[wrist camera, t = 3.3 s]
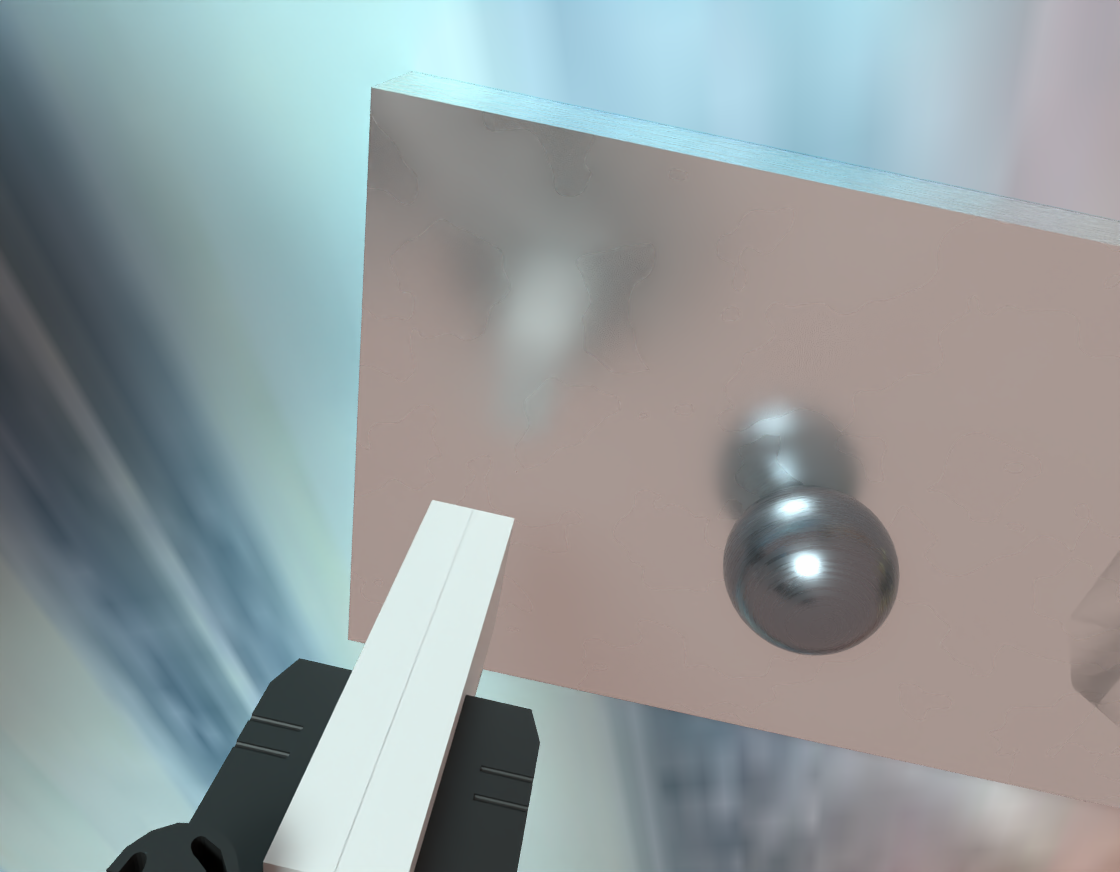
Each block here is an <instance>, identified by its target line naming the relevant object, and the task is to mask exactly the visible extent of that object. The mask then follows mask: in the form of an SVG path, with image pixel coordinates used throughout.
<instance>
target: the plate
mask: <svg viewBox="0 0 1120 872" xmlns="http://www.w3.org/2000/svg"><path fill="white" fill-rule="evenodd" d="M796 485H816V486H823V487H828V488H832V489H835V490H838V491H840V492H843V493H845V494H847V495H850V496H851V497H853V498H855V499H857V500H858V501H860V502H861V503H862V504H864V505H865V506H866V507H867V508H869V509H870V510H871V511H872V512H873V513H874V514H875V515H876V516H877V517H878V519H879V520H880V521H881V522H882V524H883V525H884V527H885V528H886V529H887V531H888V533H889V535H890V537H891V539H892V541H893V543H894V546H895V550H896V553H897V557H898V562H899V574H900V578H899V587H898V593H897V597H896V600H895V603H894V605H893V607H892V610H891V612H890V614H889V615H888V617H887V618H886V620H885V621H884V623H883V624H882V625H881V627H880V628H879V629H878V630H877V631H876V632H875V633H874V634H873V635H871V636H870V637H869V638H868V639H866V640H865V641H863V642H862V643H860V644H859V645H857V646H855V647H853V648H851V649H848V650H846V651H842V652H839V653H834V654H829V655H802V654H797V653H793V652H789V651H786V650H783V649H781V648H778V647H776V646H774V645H772V644H770V643H768V642H767V641H765V640H764V639H762V638H761V637H759V636H758V635H757V634H756V633H754V632H753V631H752V630H751V629H750V628H749V627H748V626H747V625H746V624H745V622H744V621H743V620H742V619H741V618H740V616H739V615H738V613H737V611H736V610H735V608H734V607H733V605H732V603H731V600H730V598H729V595H728V593H727V590H726V586H725V581H724V576H723V556H724V550H725V545H726V542H727V539H728V536H729V534H730V532H731V530H732V528H733V526H734V524H735V523H736V521H737V520H738V518H739V517H740V516H741V515H742V513H743V512H744V511H745V510H746V509H747V508H748V507H749V506H750V505H751V504H753V503H754V502H755V501H757V500H758V499H760V498H761V497H763V496H765V495H767V494H769V493H771V492H773V491H776V490H778V489H782V488H785V487H790V486H796ZM432 500H435V501H440V502H444V503H449V504H453V505H458V506H462V507H466V508H471V509H475V510H480V511H484V512H489V513H493V514H498V515H502V516H507V517H511V518H515V519H514V525H513V530H512V535H511V541H510V546H509V551H508V557H507V562H506V568H505V573H504V578H503V584H502V589H501V594H500V600H499V605H498V611H497V616H496V621H495V627H494V630H493V634H492V637H491V641H490V645H489V648H488V652H487V655H486V659H485V662H484V666H483V669H485V670H489V671H494V672H498V673H503V674H507V675H512V676H517V677H521V678H526V679H530V680H535V681H539V682H544V683H549V684H553V685H558V686H562V687H567V688H571V689H576V690H581V691H585V692H590V693H594V694H599V695H603V696H608V697H613V698H617V699H622V700H626V701H631V702H635V703H640V704H645V705H649V706H654V707H658V708H663V709H667V710H672V711H677V712H681V713H686V714H690V715H695V716H699V717H704V718H709V719H713V720H718V721H722V722H727V723H731V724H736V725H741V726H745V727H750V728H754V729H759V730H763V731H768V732H773V733H777V734H782V735H786V736H791V737H795V738H800V739H805V740H809V741H814V742H818V743H823V744H827V745H832V746H837V747H841V748H846V749H850V750H855V751H859V752H864V753H869V754H873V755H878V756H882V757H887V758H891V759H896V760H901V761H905V762H910V763H914V764H919V765H923V766H928V767H933V768H937V769H942V770H946V771H951V772H955V773H960V774H965V775H969V776H974V777H978V778H983V779H987V780H992V781H997V782H1001V783H1006V784H1010V785H1015V786H1019V787H1024V788H1029V789H1033V790H1038V791H1042V792H1047V793H1051V794H1056V795H1061V796H1065V797H1070V798H1074V799H1079V800H1083V801H1088V802H1093V803H1097V804H1102V805H1106V806H1111V807H1115V808H1120V221H1115V220H1110V219H1106V218H1101V217H1096V216H1091V215H1087V214H1082V213H1077V212H1073V211H1068V210H1063V209H1058V208H1054V207H1049V206H1044V205H1040V204H1035V203H1030V202H1025V201H1021V200H1016V199H1011V198H1007V197H1002V196H997V195H992V194H988V193H983V192H978V191H974V190H969V189H964V188H959V187H955V186H950V185H945V184H941V183H936V182H931V181H926V180H922V179H917V178H912V177H908V176H903V175H898V174H893V173H889V172H884V171H879V170H875V169H870V168H865V167H860V166H856V165H851V164H846V163H842V162H837V161H832V160H827V159H823V158H818V157H813V156H809V155H804V154H799V153H794V152H790V151H785V150H780V149H776V148H771V147H766V146H762V145H757V144H752V143H747V142H743V141H738V140H733V139H729V138H724V137H719V136H714V135H710V134H705V133H700V132H696V131H691V130H686V129H681V128H677V127H672V126H667V125H663V124H658V123H653V122H648V121H644V120H639V119H634V118H630V117H625V116H620V115H615V114H611V113H606V112H601V111H597V110H592V109H587V108H582V107H578V106H573V105H568V104H564V103H559V102H554V101H549V100H545V99H540V98H535V97H531V96H526V95H521V94H516V93H512V92H507V91H502V90H498V89H493V88H488V87H483V86H479V85H474V84H469V83H465V82H460V81H455V80H450V79H446V78H441V77H436V76H432V75H427V74H422V73H417V72H413V71H411V72H409V73H406V74H404V75H401V76H399V77H396V78H394V79H391V80H388V81H386V82H383V83H381V84H378V85H376V86H373V87H371V108H370V132H369V156H368V180H367V203H366V227H365V251H364V275H363V298H362V322H361V346H360V370H359V394H358V417H357V441H356V465H355V489H354V512H353V536H352V560H351V584H350V607H349V631H348V640H352V641H357V642H361V643H366V641H367V639H368V636H369V634H370V632H371V630H372V628H373V626H374V624H375V622H376V619H377V617H378V615H379V613H380V611H381V609H382V607H383V604H384V602H385V600H386V598H387V596H388V594H389V592H390V589H391V587H392V585H393V583H394V581H395V579H396V577H397V575H398V572H399V570H400V568H401V566H402V564H403V562H404V560H405V557H406V555H407V553H408V551H409V549H410V547H411V545H412V542H413V540H414V538H415V536H416V534H417V532H418V530H419V527H420V525H421V523H422V521H423V519H424V517H425V515H426V513H427V510H428V508H429V506H430V504H431V502H432Z"/></svg>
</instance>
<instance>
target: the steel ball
mask: <svg viewBox="0 0 1120 872" xmlns="http://www.w3.org/2000/svg"><path fill="white" fill-rule="evenodd" d="M723 576H724V581H725V586H726V590H727V593H728V595H729V598H730V600H731V603H732V605H733V607H734V608H735V610H736V611H737V613H738V615H739V616H740V618H741V619H742V620H743V621H744V622H745V624H746V625H747V626H748V627H749V628H750V629H751V630H752V631H753V632H754V633H756V634H757V635H758V636H759V637H761V638H762V639H764V640H765V641H767V642H768V643H770V644H772V645H774V646H776V647H778V648H781V649H783V650H786V651H789V652H793V653H797V654H802V655H829V654H834V653H839V652H842V651H846V650H848V649H851V648H853V647H855V646H857V645H859V644H860V643H862V642H863V641H865V640H866V639H868V638H869V637H870V636H871V635H873V634H874V633H875V632H876V631H877V630H878V629H879V628H880V627H881V625H882V624H883V623H884V621H885V620H886V618H887V617H888V615H889V614H890V612H891V610H892V607H893V605H894V603H895V600H896V597H897V593H898V587H899V578H900V574H899V562H898V557H897V553H896V550H895V546H894V543H893V541H892V539H891V537H890V535H889V533H888V531H887V529H886V528H885V527H884V525H883V524H882V522H881V521H880V520H879V519H878V517H877V516H876V515H875V514H874V513H873V512H872V511H871V510H870V509H869V508H867V507H866V506H865V505H864V504H862V503H861V502H860V501H858V500H857V499H855V498H853V497H851V496H850V495H847V494H845V493H843V492H840V491H838V490H835V489H832V488H828V487H823V486H816V485H796V486H790V487H785V488H782V489H778V490H776V491H773V492H771V493H769V494H767V495H765V496H763V497H761V498H760V499H758V500H757V501H755V502H754V503H753V504H751V505H750V506H749V507H748V508H747V509H746V510H745V511H744V512H743V513H742V515H741V516H740V517H739V518H738V520H737V521H736V523H735V524H734V526H733V528H732V530H731V532H730V534H729V536H728V539H727V542H726V545H725V550H724V556H723Z"/></svg>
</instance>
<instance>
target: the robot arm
mask: <svg viewBox="0 0 1120 872" xmlns="http://www.w3.org/2000/svg"><path fill="white" fill-rule="evenodd" d="M514 519H515V518H511V517H507V516H502V515H498V514H493V513H489V512H484V511H480V510H475V509H471V508H466V507H462V506H458V505H453V504H449V503H444V502H440V501H435V500H432V502H431V504H430V506H429V508H428V510H427V513H426V515H425V517H424V519H423V521H422V523H421V525H420V527H419V530H418V532H417V534H416V536H415V538H414V540H413V542H412V545H411V547H410V549H409V551H408V553H407V555H406V557H405V560H404V562H403V564H402V566H401V568H400V570H399V572H398V575H397V577H396V579H395V581H394V583H393V585H392V587H391V589H390V592H389V594H388V596H387V598H386V600H385V602H384V604H383V607H382V609H381V611H380V613H379V615H378V617H377V619H376V622H375V624H374V626H373V628H372V630H371V632H370V634H369V636H368V639H367V641H366V643H365V645H364V647H363V649H362V651H361V654H360V656H359V658H358V660H357V662H356V664H355V666H354V669H353V671H352V670H348V669H343V668H339V667H335V666H330V665H326V664H322V663H317V662H313V661H309V660H304V659H300V658H299V659H298V660H297V661H296V662H295V663H293V664H292V665H291V666H290V667H288V668H287V669H286V670H285V671H284V672H282V673H281V674H280V675H279V676H278V677H276V678H275V679H274V680H273V681H272V682H270V684H269V686H268V687H267V689H266V691H265V692H264V694H263V696H262V698H261V699H260V701H259V703H258V705H257V706H256V708H255V710H254V712H253V713H252V717H251V719H250V721H249V720H248V722H247V724H246V725H245V727H244V729H243V731H242V732H241V734H240V736H239V738H238V739H237V743H236V745H235V747H233V748H232V750H231V751H230V753H229V755H228V757H227V758H226V760H225V762H224V764H223V765H222V767H221V769H220V770H219V772H218V774H217V776H216V777H215V779H214V781H213V783H212V784H211V786H210V788H209V790H208V791H207V793H206V795H205V796H204V798H203V800H202V802H201V803H200V805H199V807H198V809H197V810H196V812H195V814H194V816H193V817H192V819H191V821H190V822H189V823H176V824H173V825H169V826H166V827H163V828H160V829H156V830H153V831H151V832H149V833H147V834H146V835H144V836H143V837H141V838H140V839H138V840H137V841H135V842H134V843H132V844H131V845H129V846H127V847H126V848H125V849H124V850H123V852H122V853H121V854H120V855H119V856H118V857H117V858H116V860H115V861H114V862H113V863H112V864H111V865H110V867H109V868H108V869H107V870H106V871H107V872H517V868H518V863H519V857H520V851H521V846H522V840H523V835H524V829H525V823H526V818H527V811H528V806H529V801H530V795H531V790H532V783H533V778H534V773H535V767H536V762H537V756H538V750H539V745H540V741H539V737H538V733H537V729H536V725H535V722H534V718H533V714H532V710H531V709H526V708H522V707H518V706H513V705H509V704H505V703H500V702H496V701H492V700H487V699H483V698H478V697H475V695H476V691H477V687H478V684H479V680H480V677H481V673H482V670H483V666H484V662H485V659H486V655H487V652H488V648H489V645H490V641H491V637H492V634H493V630H494V627H495V621H496V616H497V611H498V605H499V600H500V594H501V589H502V584H503V578H504V573H505V568H506V562H507V557H508V551H509V546H510V541H511V535H512V530H513V525H514Z"/></svg>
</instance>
